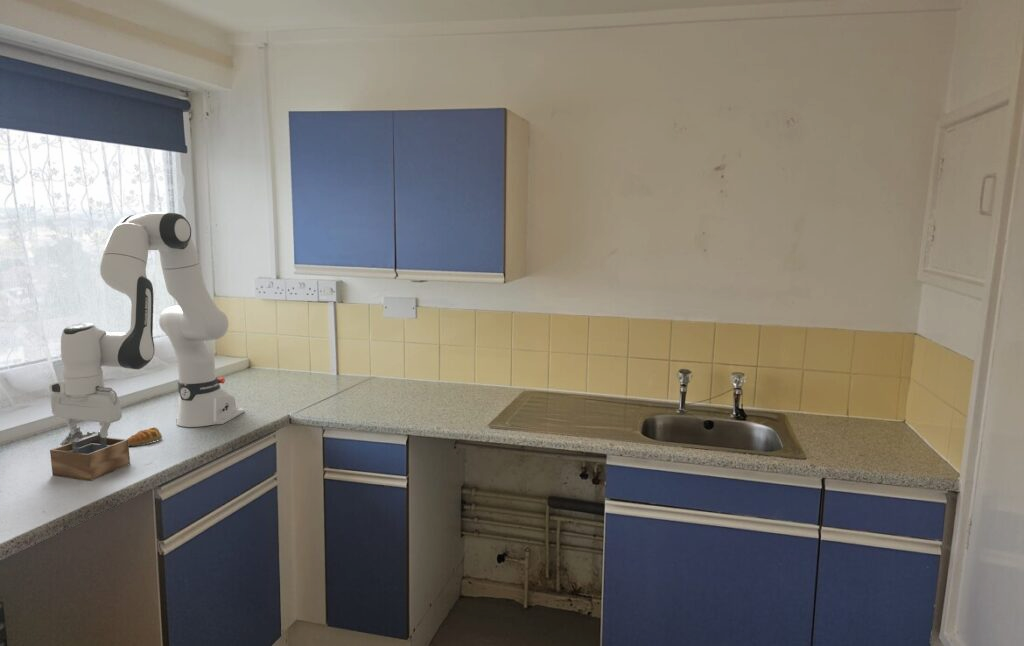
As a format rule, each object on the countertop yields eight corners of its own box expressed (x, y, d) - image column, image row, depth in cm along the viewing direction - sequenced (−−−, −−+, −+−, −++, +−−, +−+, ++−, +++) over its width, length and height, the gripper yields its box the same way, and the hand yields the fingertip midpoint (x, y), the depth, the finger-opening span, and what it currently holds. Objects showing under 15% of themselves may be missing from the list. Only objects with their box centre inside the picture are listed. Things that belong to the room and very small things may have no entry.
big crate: (94, 459, 188) (92, 435, 187) (130, 464, 185) (128, 439, 184) (52, 475, 176) (49, 450, 175) (90, 480, 173) (87, 454, 172)
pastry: (135, 449, 198) (134, 436, 197) (121, 445, 201) (120, 433, 200) (164, 440, 206) (163, 428, 205) (150, 436, 209) (149, 425, 208)
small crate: (93, 460, 186) (90, 430, 185) (119, 463, 183) (116, 433, 182) (63, 471, 177) (60, 440, 176) (90, 475, 175) (87, 443, 174)
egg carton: (74, 441, 204) (73, 428, 204) (101, 440, 206) (100, 427, 205) (57, 453, 194) (56, 439, 193) (86, 451, 195) (84, 438, 195)
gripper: (125, 385, 177) (129, 435, 179) (65, 379, 183) (70, 428, 185) (105, 391, 171) (109, 442, 173) (44, 385, 177) (49, 435, 179)
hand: (89, 435), depth 179 cm, fingers open, 8 cm apart
